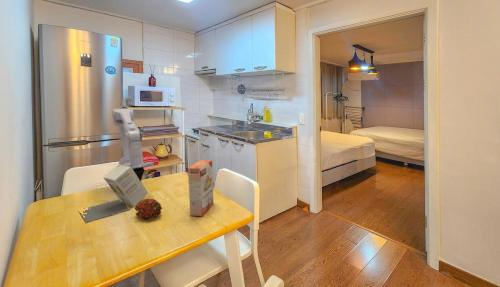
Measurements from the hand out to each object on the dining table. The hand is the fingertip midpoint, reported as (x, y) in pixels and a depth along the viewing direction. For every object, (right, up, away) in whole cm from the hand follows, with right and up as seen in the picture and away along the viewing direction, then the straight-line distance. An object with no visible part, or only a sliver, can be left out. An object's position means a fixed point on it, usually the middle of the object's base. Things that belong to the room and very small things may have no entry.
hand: (139, 183), depth 121 cm
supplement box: (-2, -7, 0) cm, 7 cm away
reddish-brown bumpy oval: (+11, -12, -16) cm, 22 cm away
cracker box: (+32, -10, -9) cm, 35 cm away
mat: (-12, -11, -8) cm, 18 cm away
